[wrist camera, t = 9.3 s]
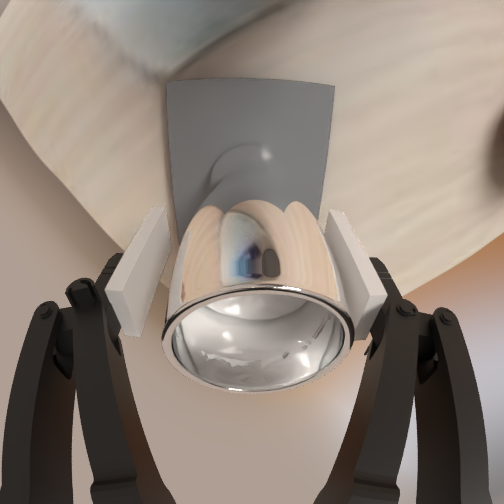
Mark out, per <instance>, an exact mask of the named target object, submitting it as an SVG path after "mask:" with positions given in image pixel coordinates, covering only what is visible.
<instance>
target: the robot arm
mask: <svg viewBox="0 0 504 504" xmlns="http://www.w3.org/2000/svg"><path fill="white" fill-rule="evenodd" d="M324 235H325V237H326V239H327V241H328V243H329V245H330V248H331V250H332V253H333V256H334V258H335V261H336V264H337V267H338V270H339V274H340V277H341V281H342V284H343V288H344V292H345V297H346V301H347V305H348V309H349V313H350V317H351V319H352V321H353V324H354V329H355V337H354V341H356V340H365V339H366V338H367V336H368V334H369V332H370V333H371V335H372V338H373V339H372V341H371V343H370V345H369V346H368V348H367V350H366V352H365V353H364V355H367V359H366V363H365V367H364V372H363V376H362V380H361V384H360V388H359V391H358V395H357V398H356V402H355V405H354V409H353V412H352V415H351V419H350V422H349V425H348V428H347V431H346V434H345V437H344V440H343V442H342V445H341V448H340V451H339V453H338V456H337V459H336V461H335V464H334V466H333V469H332V471H331V474H330V476H329V478H328V481H327V483H326V485H325V486H324V488H323V489H322V490H321V492H320V493H319V495H318V496H317V498H316V499H315V501H314V503H313V504H398V501H399V497H400V490H399V488H398V487H397V485H396V480H397V475H398V472H399V468H400V464H401V461H402V457H403V452H404V448H405V443H406V438H407V433H408V428H409V424H410V417H411V412H412V405H413V398H414V396H415V408H416V421H417V440H418V441H417V442H418V478H417V497H416V504H492V500H491V496H490V493H489V487H488V486H489V481H488V480H489V478H488V454H487V443H486V434H485V427H484V419H483V413H482V407H481V402H480V397H479V392H478V387H477V383H476V379H475V375H474V371H473V367H472V363H471V360H470V356H469V353H468V349H467V346H466V343H465V340H464V337H463V333H462V331H461V328H460V325H459V322H458V319H457V317H456V316H455V314H454V313H453V312H452V311H450V310H449V309H447V308H443V307H440V308H438V309H436V310H435V311H434V313H433V315H431V314H426V313H421V312H418V310H417V308H416V306H415V305H414V304H412V303H411V302H410V301H408V300H406V299H403V298H402V296H401V294H400V292H399V290H398V289H397V287H396V285H395V283H394V281H393V279H391V278H392V277H391V276H390V274H389V273H388V270H387V268H386V267H385V265H384V264H383V263H382V262H381V261H380V260H379V259H378V258H373V257H368V255H367V254H366V252H365V250H364V248H363V246H362V244H361V243H360V241H359V239H358V237H357V235H356V234H355V232H354V230H353V228H352V227H351V225H350V223H349V222H348V220H347V218H346V216H345V215H344V213H343V211H340V210H329V213H328V219H327V224H326V229H325V234H324ZM171 248H172V246H171V240H170V234H169V227H168V220H167V213H166V206H159V207H152V209H151V210H150V212H149V213H148V215H147V216H146V218H145V220H144V221H143V223H142V224H141V226H140V228H139V229H138V231H137V233H136V234H135V236H134V238H133V239H132V241H131V243H130V244H129V246H128V248H127V249H126V251H125V253H116V254H115V255H114V256H112V258H110V259H109V260H108V262H107V264H106V265H105V268H104V269H103V271H102V272H101V274H100V276H99V277H98V279H97V281H96V283H94V281H92V280H91V279H89V278H80V279H78V280H75V281H74V282H72V283H71V284H70V285H69V286H68V287H67V289H66V292H65V294H66V296H67V298H68V300H69V302H70V304H71V306H72V307H68V308H62V309H59V307H58V305H57V304H56V303H55V302H54V301H47V302H44V303H42V304H41V305H40V306H39V307H38V308H37V309H36V310H35V312H34V315H33V317H32V320H31V323H30V325H29V328H28V331H27V334H26V337H25V340H24V343H23V347H22V350H21V353H20V357H19V361H18V364H17V368H16V371H15V375H14V380H13V384H12V388H11V393H10V398H9V404H8V409H7V416H6V422H5V430H4V441H3V452H2V453H3V454H2V486H1V490H0V504H73V488H72V463H71V462H72V460H71V459H72V458H71V457H72V455H71V454H72V453H71V452H72V451H71V450H72V425H73V410H74V400H75V391H77V399H78V406H79V413H80V419H81V425H82V430H83V436H84V440H85V445H86V449H87V453H88V458H89V462H90V465H91V469H92V472H93V477H94V482H93V484H92V485H91V488H90V493H91V498H92V501H93V504H176V502H175V500H174V499H173V497H172V495H171V493H170V492H169V490H168V489H167V488H166V486H165V485H164V483H163V481H162V479H161V477H160V474H159V472H158V469H157V467H156V464H155V462H154V459H153V456H152V454H151V451H150V448H149V445H148V442H147V440H146V437H145V434H144V431H143V428H142V424H141V421H140V418H139V415H138V411H137V408H136V404H135V401H134V397H133V393H132V389H131V385H130V381H129V377H128V373H127V368H126V364H125V359H124V354H123V349H122V344H121V340H120V338H119V336H118V334H119V332H120V329H121V328H122V330H123V332H124V334H125V336H133V337H141V335H142V331H143V328H144V325H145V322H146V319H147V316H148V313H149V310H150V307H151V304H152V301H153V298H154V295H155V292H156V289H157V286H158V283H159V281H160V278H161V275H162V272H163V270H164V267H165V264H166V262H167V259H168V256H169V254H170V251H171ZM367 353H368V354H367Z"/></svg>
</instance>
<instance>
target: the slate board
mask: <svg viewBox="0 0 504 504" xmlns="http://www.w3.org/2000/svg"><path fill="white" fill-rule="evenodd" d="M334 90H335V86H331V85H325V84H318V83H310V82H301V81H290V80H277V79H258V78H212V79H193V80H180V81H170V82H166V96H167V121H168V138H169V153H170V165H171V176H172V187H173V196H174V206H175V214H176V222H177V230H178V238H179V245H180V244H181V242H182V239H183V236H184V234H185V231H186V229H187V227H188V225H189V223H190V222H191V220H192V218H193V216H194V215H195V213H196V211H197V210H198V208H199V207H200V206H201V204H202V203H203V202H204V200H205V199H206V198H207V196H208V195H209V194H210V193H211V190H210V176H211V172H212V169H213V167H214V165H215V163H216V161H217V160H218V159H219V158H220V157H221V156H222V155H223V154H224V153H226V152H227V151H229V150H230V149H233V148H235V147H238V146H242V145H258V146H262V147H265V148H267V149H269V150H271V151H273V152H274V153H276V154H277V155H278V156H279V157H280V158H281V159H282V161H283V162H284V164H285V166H286V168H287V170H288V174H289V180H290V187H289V188H290V189H291V190H292V191H293V192H294V193H295V194H296V195H297V196H298V197H299V198H300V199H301V200H302V201H303V203H304V204H305V205H306V206H307V208H308V209H309V210H310V212H311V213H312V214H313V216H314V217H315V218H316V220H317V221H318V215H319V209H320V203H321V197H322V190H323V184H324V177H325V170H326V162H327V155H328V147H329V139H330V130H331V121H332V111H333V101H334Z"/></svg>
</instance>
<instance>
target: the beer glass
mask: <svg viewBox="0 0 504 504" xmlns="http://www.w3.org/2000/svg"><path fill="white" fill-rule="evenodd" d="M289 187H290V180H289V174H288V170H287V168H286V166H285V164H284V162H283V161H282V159H281V158H280V157H279V156H278V155H277V154H276V153H274V152H273V151H271V150H269V149H267V148H265V147H262V146H258V145H242V146H238V147H235V148H233V149H230V150H229V151H227V152H226V153H224V154H223V155H222V156H221V157H220V158H219V159H218V160H217V161H216V163H215V165H214V167H213V169H212V172H211V176H210V190H211V193H210V194H209V195H208V196H207V198H206V199H205V200H204V202H203V203H202V204H201V206H200V207H199V208H198V210H197V211H196V213H195V215H194V216H193V218H192V220H191V222H190V223H189V225H188V227H187V229H186V231H185V234H184V236H183V239H182V242H181V244H180V247H179V250H178V253H177V257H176V261H175V265H174V269H173V273H172V277H171V283H170V289H169V295H168V302H167V310H166V318H165V325H164V329H163V332H162V348H163V351H164V353H165V356H166V357H167V359H168V361H169V362H170V363H171V365H172V366H173V367H174V368H175V369H176V370H178V371H179V372H180V373H181V374H182V375H184V376H185V377H187V378H189V379H190V380H192V381H194V382H196V383H199V384H201V385H204V386H206V387H209V388H212V389H216V390H220V391H225V392H230V393H239V394H266V393H275V392H281V391H286V390H290V389H294V388H298V387H301V386H304V385H306V384H309V383H311V382H313V381H315V380H317V379H319V378H321V377H323V376H325V375H326V374H327V373H329V372H331V371H332V370H333V369H335V368H336V367H337V366H338V365H339V364H340V363H341V362H342V361H343V360H344V359H345V357H346V356H347V355H348V353H349V351H350V350H351V347H352V345H353V342H354V337H355V329H354V324H353V321H352V319H351V317H350V313H349V309H348V305H347V301H346V297H345V292H344V288H343V284H342V281H341V277H340V274H339V270H338V267H337V264H336V261H335V258H334V256H333V253H332V250H331V248H330V245H329V243H328V241H327V239H326V237H325V235H324V233H323V231H322V229H321V227H320V225H319V223H318V221H317V220H316V218H315V217H314V216H313V214H312V213H311V212H310V210H309V209H308V208H307V206H306V205H305V204H304V203H303V201H302V200H301V199H300V198H299V197H298V196H297V195H296V194H295V193H294V192H293V191H292V190H291V189H290V188H289Z"/></svg>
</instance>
